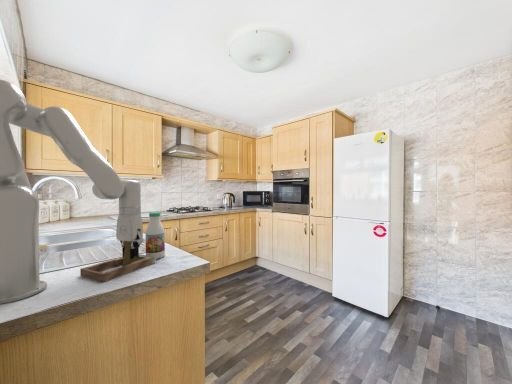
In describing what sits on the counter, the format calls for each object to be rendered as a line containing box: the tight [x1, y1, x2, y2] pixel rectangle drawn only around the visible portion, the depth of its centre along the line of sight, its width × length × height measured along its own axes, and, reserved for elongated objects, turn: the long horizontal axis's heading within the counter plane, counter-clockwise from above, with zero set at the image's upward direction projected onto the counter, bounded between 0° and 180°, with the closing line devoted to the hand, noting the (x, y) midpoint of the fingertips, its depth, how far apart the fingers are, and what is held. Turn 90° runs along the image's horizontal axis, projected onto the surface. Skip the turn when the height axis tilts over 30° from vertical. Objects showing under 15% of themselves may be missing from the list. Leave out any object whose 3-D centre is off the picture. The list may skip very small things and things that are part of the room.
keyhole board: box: [79, 253, 156, 283], centre depth 81 cm, size 20×13×2 cm, turn 155°
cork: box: [121, 239, 139, 267], centre depth 85 cm, size 6×6×11 cm
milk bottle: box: [145, 211, 166, 260], centre depth 95 cm, size 8×8×20 cm
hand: (130, 256), depth 85 cm, fingers closed on cork, 3 cm apart
